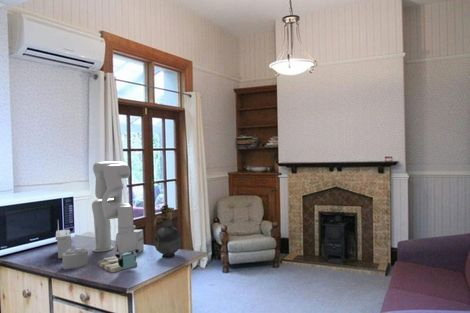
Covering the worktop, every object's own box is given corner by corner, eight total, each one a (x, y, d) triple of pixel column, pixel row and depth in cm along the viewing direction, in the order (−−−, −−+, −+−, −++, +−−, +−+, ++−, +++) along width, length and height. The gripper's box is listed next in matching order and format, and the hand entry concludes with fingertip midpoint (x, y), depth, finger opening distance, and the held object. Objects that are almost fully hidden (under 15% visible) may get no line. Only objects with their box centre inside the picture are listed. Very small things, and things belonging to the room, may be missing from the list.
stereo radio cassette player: (72, 257, 214) (70, 223, 214) (56, 259, 211) (54, 225, 211) (71, 249, 233) (69, 218, 233) (56, 251, 230) (55, 219, 229)
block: (119, 266, 187) (119, 255, 186) (130, 263, 191) (130, 252, 190) (124, 268, 183) (123, 256, 183) (135, 265, 187) (134, 254, 187)
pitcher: (184, 253, 214) (182, 202, 213) (163, 263, 197) (161, 207, 196) (169, 251, 219) (167, 201, 218) (148, 261, 202) (145, 206, 201)
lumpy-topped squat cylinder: (91, 262, 203) (90, 247, 203) (71, 270, 191) (70, 253, 191) (77, 260, 207) (77, 245, 207) (57, 267, 196) (56, 251, 196)
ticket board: (97, 264, 198) (97, 259, 198) (122, 259, 207) (122, 253, 207) (111, 272, 185) (111, 266, 185) (137, 265, 194) (136, 260, 194)
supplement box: (138, 253, 219) (137, 232, 219) (127, 252, 220) (126, 231, 220) (144, 249, 226) (143, 229, 226) (133, 249, 227) (132, 229, 227)
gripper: (138, 225, 195) (139, 259, 195) (106, 231, 183) (107, 267, 184) (144, 227, 189) (146, 262, 190) (112, 233, 178) (114, 270, 178)
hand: (127, 264), depth 187 cm, fingers closed on block, 6 cm apart
